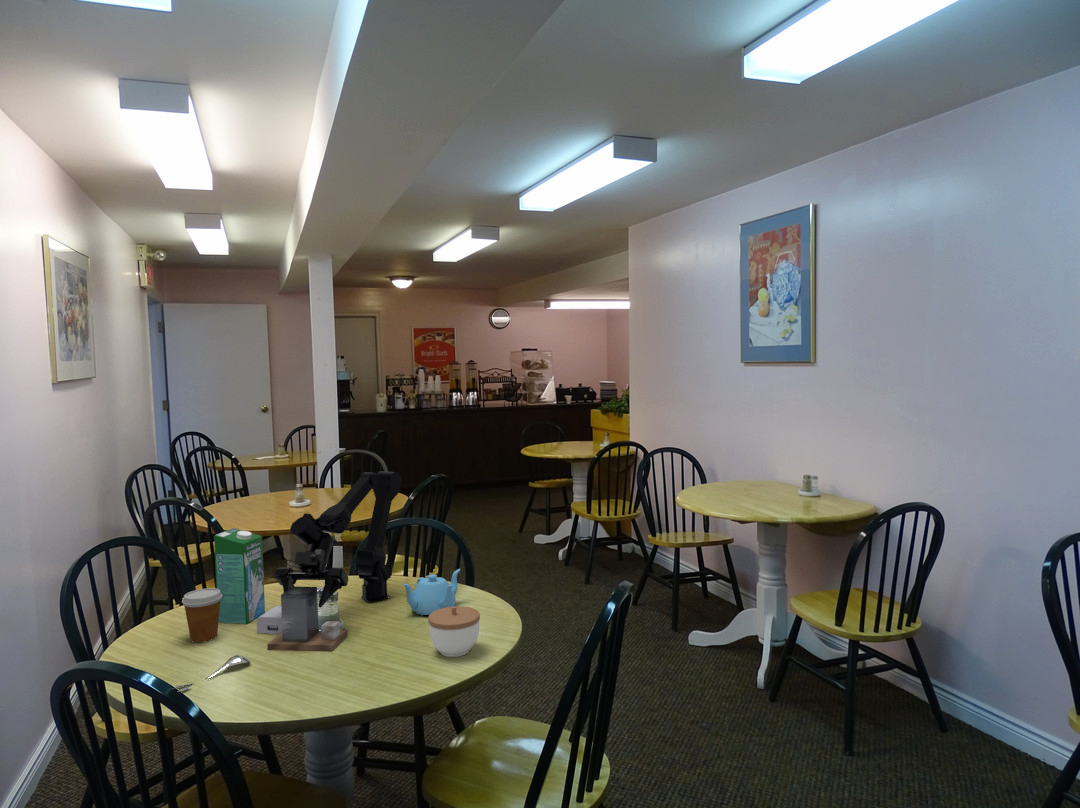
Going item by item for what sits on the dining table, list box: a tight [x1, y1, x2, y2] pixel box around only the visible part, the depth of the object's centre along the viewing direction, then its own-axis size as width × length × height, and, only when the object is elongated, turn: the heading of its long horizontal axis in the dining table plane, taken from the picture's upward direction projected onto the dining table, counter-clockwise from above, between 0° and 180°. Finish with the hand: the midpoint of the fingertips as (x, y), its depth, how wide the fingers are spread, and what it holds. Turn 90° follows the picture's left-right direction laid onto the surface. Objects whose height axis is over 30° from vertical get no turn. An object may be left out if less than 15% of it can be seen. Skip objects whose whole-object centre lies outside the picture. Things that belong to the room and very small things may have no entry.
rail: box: [266, 620, 349, 652], centre depth 173 cm, size 17×10×5 cm, turn 85°
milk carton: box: [213, 527, 266, 625], centre depth 191 cm, size 9×9×25 cm
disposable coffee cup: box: [181, 587, 222, 643], centre depth 177 cm, size 10×10×12 cm
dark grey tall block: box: [280, 586, 320, 642], centre depth 173 cm, size 7×7×12 cm
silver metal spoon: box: [173, 654, 252, 692], centre depth 154 cm, size 20×4×5 cm
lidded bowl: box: [427, 605, 481, 658], centre depth 166 cm, size 13×13×11 cm
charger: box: [256, 605, 282, 635], centre depth 187 cm, size 5×9×15 cm
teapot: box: [401, 568, 461, 616], centre depth 195 cm, size 15×15×10 cm
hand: (302, 606), depth 174 cm, fingers open, 9 cm apart
